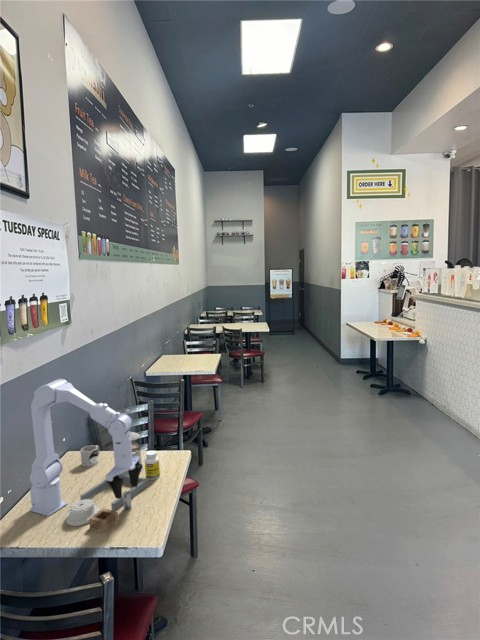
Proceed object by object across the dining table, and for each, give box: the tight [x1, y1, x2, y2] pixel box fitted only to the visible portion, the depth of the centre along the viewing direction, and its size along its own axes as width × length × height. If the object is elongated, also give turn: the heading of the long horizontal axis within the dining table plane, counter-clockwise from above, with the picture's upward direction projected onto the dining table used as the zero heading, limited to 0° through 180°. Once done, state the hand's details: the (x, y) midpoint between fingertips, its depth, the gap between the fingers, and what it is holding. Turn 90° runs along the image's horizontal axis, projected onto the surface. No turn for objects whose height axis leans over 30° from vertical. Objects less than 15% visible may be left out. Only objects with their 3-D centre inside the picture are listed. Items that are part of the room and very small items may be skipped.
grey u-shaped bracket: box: [79, 474, 149, 511], centre depth 142 cm, size 15×17×2 cm
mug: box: [79, 444, 100, 468], centre depth 170 cm, size 10×7×7 cm, turn 167°
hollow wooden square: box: [88, 507, 119, 533], centre depth 124 cm, size 6×6×3 cm
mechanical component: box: [65, 498, 100, 527], centre depth 128 cm, size 10×4×10 cm
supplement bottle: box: [144, 450, 161, 481], centre depth 153 cm, size 5×5×10 cm
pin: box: [122, 490, 132, 512], centre depth 132 cm, size 2×2×6 cm
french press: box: [121, 409, 145, 475], centre depth 160 cm, size 10×12×25 cm
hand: (126, 491), depth 131 cm, fingers open, 7 cm apart
